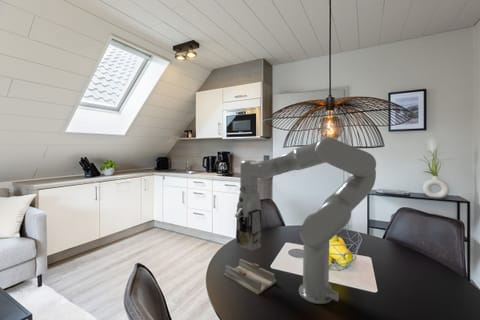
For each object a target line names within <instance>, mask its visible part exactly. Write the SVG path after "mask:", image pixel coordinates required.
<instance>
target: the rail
mask: <svg viewBox="0 0 480 320" xmlns="http://www.w3.org/2000/svg"><path fill="white" fill-rule="evenodd" d="M223 276H224V277H225V278H227V279H229V280H231V281H233V282H235V283H237V284H238V285H239V286H242V287H244V288H246V289H248V290H249V291H251V292H253V293H254V294H256V295H259V294H261V293H263V292H264V291H265V290H267V289H268V288H270V287H271V286H272V285H275V284H276V283H277V279H276V278H275V277H276V276H275V273H273V272H271V271H269V270H266V269H264V268H263V267H261V266H260V264H257V263H255V262H253V263H251V262H249V261H247V260H245V259H242V258H240V259H239V260H238V266H236V267H233V266H230V265H228V264H227V265H225V272H224V273H223Z"/></svg>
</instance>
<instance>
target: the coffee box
mask: <svg viewBox="0 0 480 320" xmlns="http://www.w3.org/2000/svg"><path fill="white" fill-rule="evenodd" d="M237 212H238V209H236V213H237ZM242 215H243V213H242ZM242 219H244V217H242ZM245 223H246V233H243V232H241V231H240V222H239V221H238V220H237V219H236V246H238V247H240V248H244V249H246V250H249V251H255V250H257V249H260V248H261V247H262V210H255V211H252V212H249V217H247V218H246V222H245Z"/></svg>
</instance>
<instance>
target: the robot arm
mask: <svg viewBox="0 0 480 320" xmlns="http://www.w3.org/2000/svg"><path fill="white" fill-rule="evenodd" d="M326 163H327V164H328V165H330V166H333V167H335V168H337V169H339V170H342V171H343V172H346V173H348V174H349V176H348V177H347V179H346V180H345V181H344V182H343V183H342V184H341V185H340V186H339V187H338V188H337V190H336V191H334V192H333V193H332V194H331V195H329V196H328V197H327V198H326V199H325V200H324V202H323V204H322V206H320V208H319V209H318V210H316V212H314V213H311V214H309V215H307V216H306V218H305V219H304V221H303V223H302V225H301V227H300V231H299V237H300V239H301V241H302V242H303V249H302V250H303V253H302V255H303V256H302V257H303V258H302V264H303V266H302V268H303V269H302V272H303V273H302V284H300V285H299V288H298V293H299V295H300V297H302V299H303V300H305V301H307V302H309V303H312V304H317V305H323V304H328V303H330V302H331V301H332V300H333V301H335V302H339V299H340V296H339V292H338V291H335V290H333V289H332V285H331V284H330V283H329V279H330V270H329V269H330V241H331V240H332V239H333V238H334V237H335V236H337V235H338V234H339V232H341V231H342V230H343V229H344V228H345V227H347V225H348V223H349V222H350V220H351V218H352V212H353V210H354V209H355V208H356V207H357V206H359V204H360V203H362V201H363V200H364V199H365V198H366V197H367V196H368V195H369V194H370V193H371V191H373V188H374V185H375V182H376V178H377V171H376V168H377V161H376V158H375V156H373V154H371V153H369V152H368V151H366V150H363V149H360V148H357V147H355V146H353V145H350V144H347V143H346V142H343V141H341V140H338V139H336V138H334V137H324V138H322V139H320V140H318V141H315V142H313V143H310V144H307V145H304V146H300V147H297V148H295V149H292V150H291V151H290V152H288V153H286V154H283V155H279V156H277V157H274V158H270V159H266V160H265V159H264V160H261V161H260V160H259V161H256V160H254V159H253V160H252V159H251V160H249V159H248V160H242V161H240V164H239V165H240V168H239V169H240V171H239V172H240V173H239V174H240V182H239V183H240V186H239V191H240V192H239V195H238V196H239V197H238V206H237V210H238V212H237V211H236V213H235V214H234V217H235V219H236V221H237V220H238V221H239V222H240V231H241V232H243V233H246V223H245V222H246V218H247V217H249V212H252V211H255V210H261V211H262V210H263V209H262V208H261V196H260V195H261V194H260V192H259V184H258V183H259V179H261V180H267V179H271V178H273V177H276V176H278V175H282V174H286V173H289V172H292V171H301V170H304V169H308V168H312V167H316V166H318V165H322V164H326ZM242 213H243V215H242ZM242 217H244V219H242Z"/></svg>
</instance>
